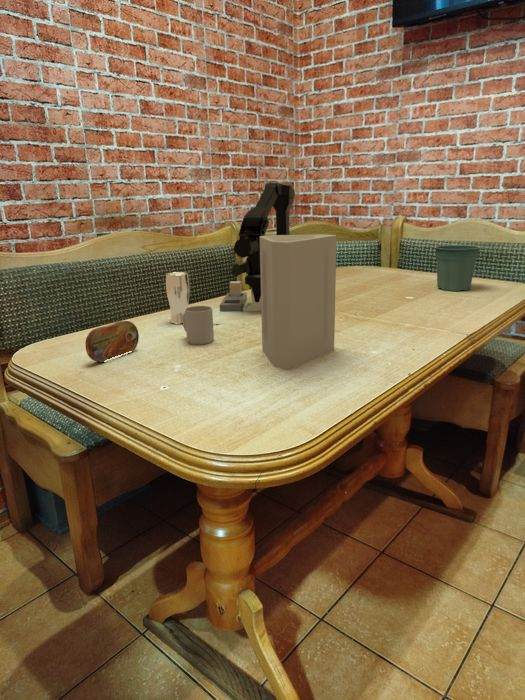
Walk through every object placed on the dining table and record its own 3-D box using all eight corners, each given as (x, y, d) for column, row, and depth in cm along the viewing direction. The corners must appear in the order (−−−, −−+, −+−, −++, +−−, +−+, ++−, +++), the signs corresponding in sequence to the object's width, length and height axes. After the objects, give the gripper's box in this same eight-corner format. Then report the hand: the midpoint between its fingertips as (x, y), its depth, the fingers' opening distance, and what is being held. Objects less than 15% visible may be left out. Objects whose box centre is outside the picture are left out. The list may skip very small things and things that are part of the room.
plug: (263, 305, 170) (263, 285, 168) (262, 308, 167) (262, 287, 165) (252, 305, 171) (251, 285, 168) (251, 308, 167) (251, 287, 165)
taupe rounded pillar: (288, 339, 135) (287, 232, 127) (335, 349, 126) (338, 235, 118) (240, 358, 121) (235, 239, 113) (289, 370, 112) (288, 242, 104)
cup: (199, 346, 131) (197, 313, 128) (174, 340, 137) (172, 308, 134) (219, 340, 136) (218, 308, 134) (194, 334, 142) (192, 303, 140)
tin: (94, 367, 118) (89, 332, 115) (85, 365, 119) (80, 330, 117) (141, 349, 130) (137, 317, 127) (132, 348, 131) (129, 316, 129)
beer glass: (193, 319, 159) (190, 271, 155) (188, 324, 153) (185, 275, 148) (172, 319, 160) (168, 271, 155) (166, 324, 153) (162, 275, 149)
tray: (271, 307, 173) (271, 302, 173) (270, 313, 164) (270, 308, 164) (245, 307, 174) (245, 302, 173) (243, 313, 165) (242, 308, 165)
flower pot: (422, 287, 200) (425, 246, 195) (453, 283, 207) (457, 243, 202) (453, 294, 186) (457, 250, 181) (485, 289, 193) (490, 247, 188)
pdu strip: (246, 300, 184) (246, 280, 181) (241, 313, 165) (240, 290, 162) (227, 301, 184) (226, 280, 182) (220, 313, 165) (218, 291, 163)
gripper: (234, 250, 173) (236, 295, 177) (227, 257, 155) (230, 307, 160) (267, 250, 172) (268, 295, 177) (264, 257, 154) (265, 307, 159)
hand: (257, 301), depth 168 cm, fingers closed on plug, 4 cm apart
